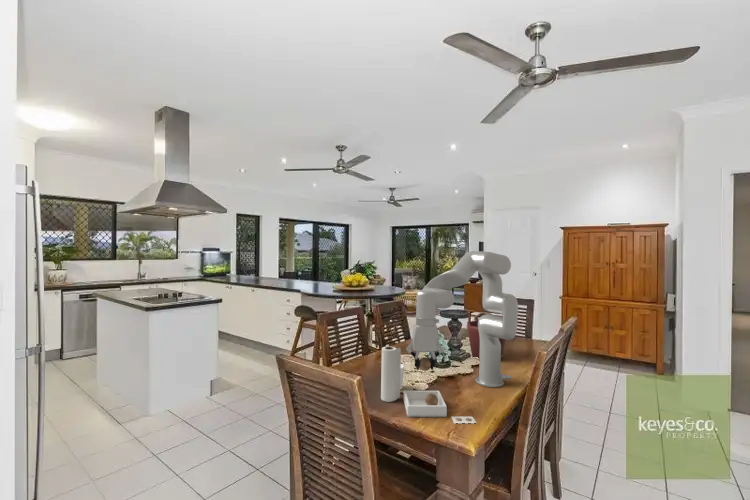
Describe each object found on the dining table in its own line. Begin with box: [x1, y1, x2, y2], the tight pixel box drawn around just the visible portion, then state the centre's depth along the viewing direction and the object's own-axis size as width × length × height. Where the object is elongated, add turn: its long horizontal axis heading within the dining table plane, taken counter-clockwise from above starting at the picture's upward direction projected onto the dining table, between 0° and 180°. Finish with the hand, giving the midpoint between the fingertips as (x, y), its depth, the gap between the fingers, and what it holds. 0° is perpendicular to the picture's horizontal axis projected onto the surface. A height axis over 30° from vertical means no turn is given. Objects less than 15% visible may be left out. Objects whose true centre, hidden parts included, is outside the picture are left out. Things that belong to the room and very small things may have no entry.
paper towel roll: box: [380, 346, 402, 403], centre depth 153 cm, size 7×6×21 cm
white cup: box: [400, 363, 405, 388], centre depth 165 cm, size 8×8×10 cm
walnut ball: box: [419, 357, 431, 372], centre depth 145 cm, size 5×5×5 cm
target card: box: [450, 416, 477, 425], centre depth 136 cm, size 8×5×1 cm, turn 91°
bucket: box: [466, 311, 507, 358], centre depth 213 cm, size 24×22×25 cm
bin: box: [403, 390, 448, 418], centre depth 145 cm, size 15×15×4 cm
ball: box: [425, 394, 438, 405], centre depth 145 cm, size 5×5×5 cm
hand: (424, 368), depth 145 cm, fingers closed on walnut ball, 4 cm apart
